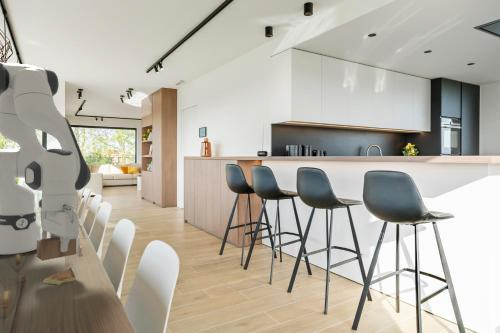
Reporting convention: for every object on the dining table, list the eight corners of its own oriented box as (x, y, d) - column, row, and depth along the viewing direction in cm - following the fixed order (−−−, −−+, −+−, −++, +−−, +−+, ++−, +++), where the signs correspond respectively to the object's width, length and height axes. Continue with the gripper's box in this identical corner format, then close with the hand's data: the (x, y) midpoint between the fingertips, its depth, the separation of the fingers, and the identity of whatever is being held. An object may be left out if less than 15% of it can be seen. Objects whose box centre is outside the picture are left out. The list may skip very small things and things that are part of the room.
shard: (70, 271, 104) (70, 266, 104) (91, 274, 103) (91, 268, 102) (42, 284, 94) (42, 278, 94) (64, 287, 92) (64, 281, 92)
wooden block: (36, 239, 95) (73, 234, 102) (36, 256, 95) (73, 250, 102) (42, 243, 91) (79, 237, 99) (42, 260, 91) (79, 253, 99)
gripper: (85, 205, 92) (84, 254, 93) (58, 199, 106) (58, 241, 106) (60, 208, 88) (60, 258, 88) (36, 201, 101) (36, 245, 101)
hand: (59, 249), depth 97 cm, fingers closed on wooden block, 5 cm apart
